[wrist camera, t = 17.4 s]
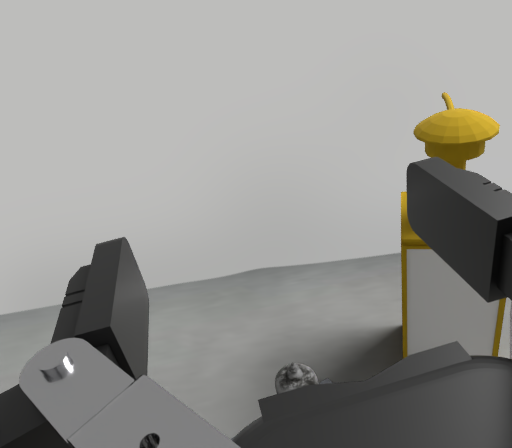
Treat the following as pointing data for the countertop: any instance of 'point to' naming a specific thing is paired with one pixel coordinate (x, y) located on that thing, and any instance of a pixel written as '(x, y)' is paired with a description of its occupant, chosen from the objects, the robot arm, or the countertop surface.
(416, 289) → the soap bottle
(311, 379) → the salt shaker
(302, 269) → the countertop surface
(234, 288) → the countertop surface
